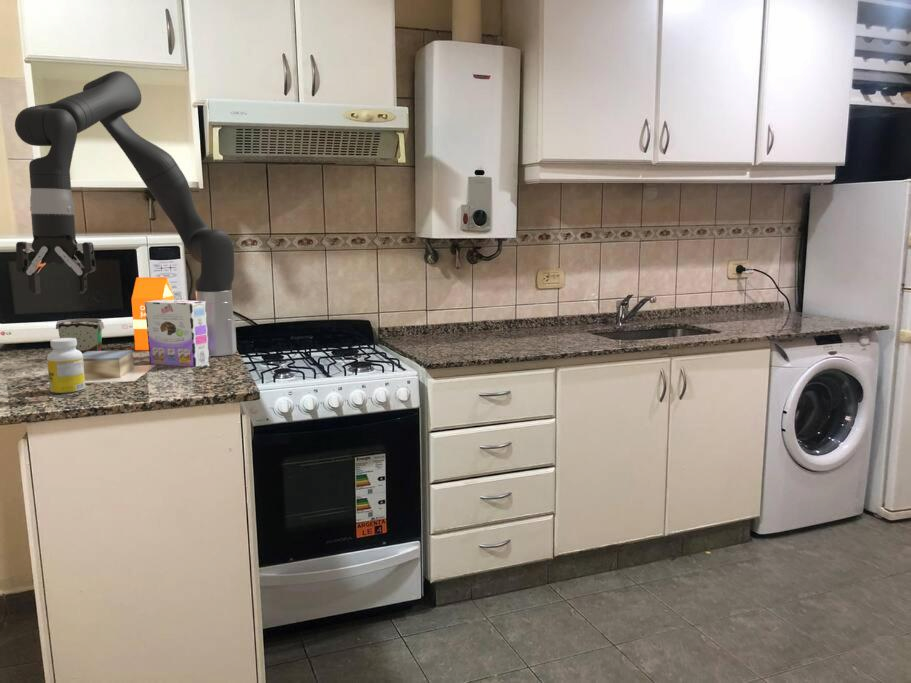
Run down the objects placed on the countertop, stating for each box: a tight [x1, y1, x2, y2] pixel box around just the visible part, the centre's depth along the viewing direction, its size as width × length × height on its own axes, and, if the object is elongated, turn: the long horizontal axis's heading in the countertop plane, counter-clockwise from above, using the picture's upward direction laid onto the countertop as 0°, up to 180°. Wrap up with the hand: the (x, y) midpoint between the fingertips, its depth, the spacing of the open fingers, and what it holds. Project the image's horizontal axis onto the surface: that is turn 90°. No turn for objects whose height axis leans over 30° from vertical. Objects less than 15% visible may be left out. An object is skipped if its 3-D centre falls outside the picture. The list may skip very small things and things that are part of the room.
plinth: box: [82, 349, 135, 379], centre depth 162 cm, size 10×10×4 cm
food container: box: [55, 318, 105, 354], centre depth 188 cm, size 12×6×10 cm, turn 84°
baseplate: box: [45, 364, 157, 385], centre depth 163 cm, size 18×18×1 cm
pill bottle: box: [46, 337, 86, 399], centre depth 146 cm, size 6×6×12 cm
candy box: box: [145, 299, 210, 370], centre depth 174 cm, size 14×6×16 cm, turn 71°
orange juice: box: [131, 276, 175, 351], centre depth 201 cm, size 8×9×20 cm
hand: (58, 293), depth 145 cm, fingers open, 8 cm apart
